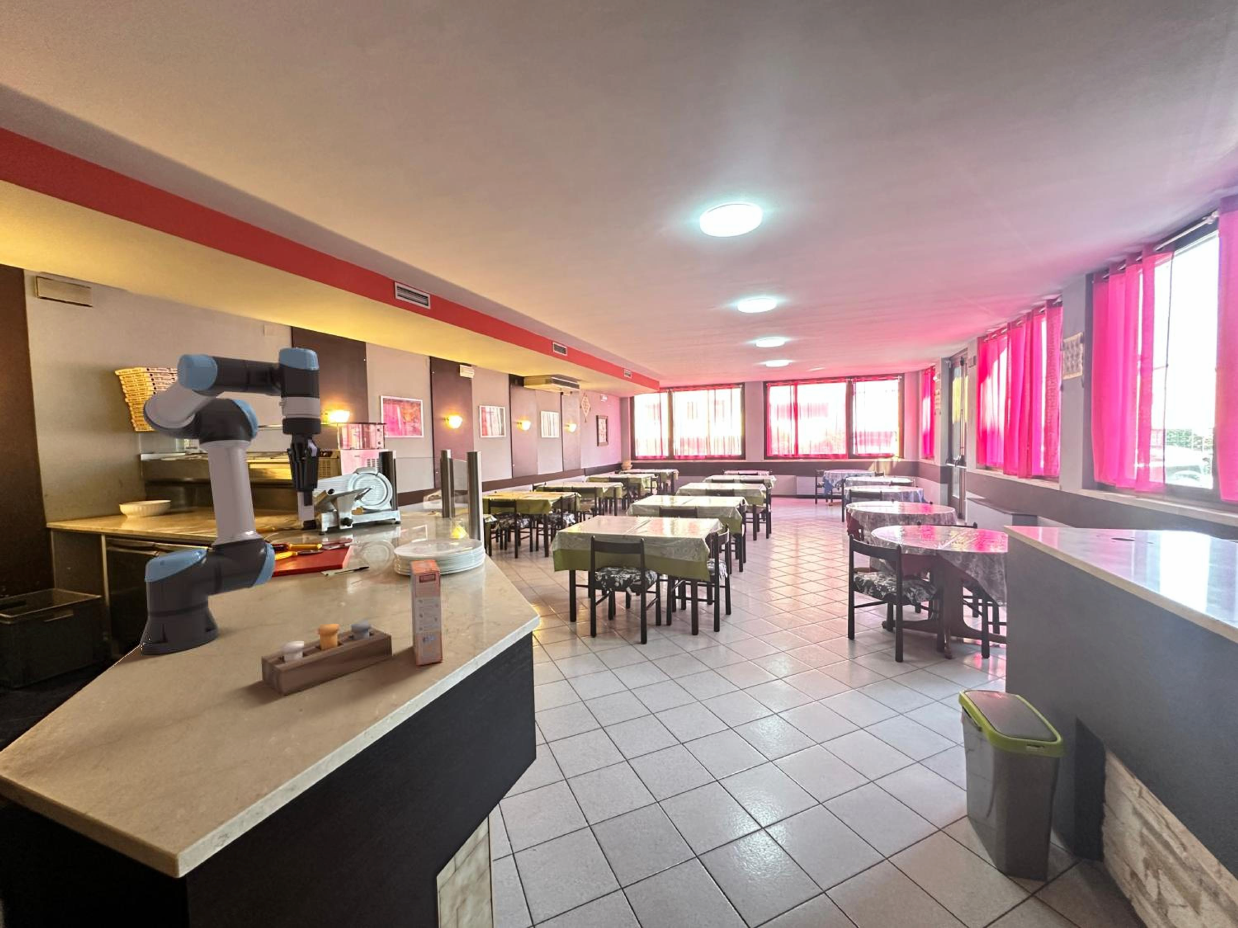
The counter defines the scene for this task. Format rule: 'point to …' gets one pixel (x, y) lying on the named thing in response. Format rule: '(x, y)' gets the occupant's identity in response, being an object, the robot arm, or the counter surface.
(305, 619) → the counter surface
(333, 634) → the orange plug
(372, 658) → the socket board
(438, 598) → the cracker box
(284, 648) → the ivory plug
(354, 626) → the slate plug
